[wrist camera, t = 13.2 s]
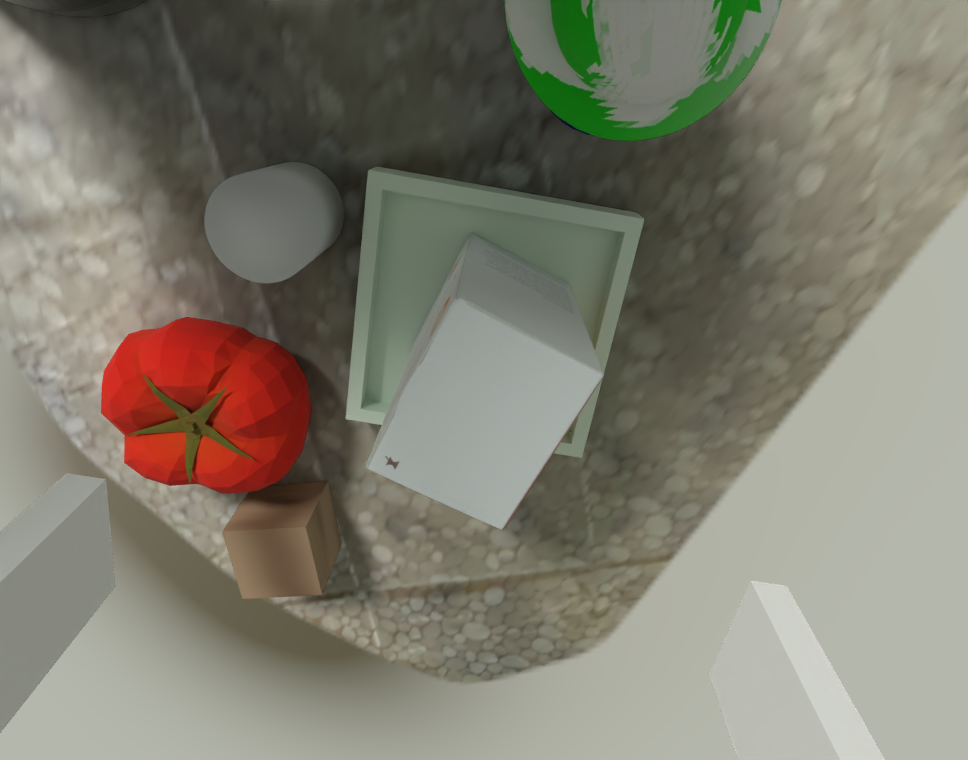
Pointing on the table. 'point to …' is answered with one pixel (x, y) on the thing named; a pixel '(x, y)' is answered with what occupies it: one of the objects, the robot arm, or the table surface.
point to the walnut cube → (283, 540)
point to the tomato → (207, 405)
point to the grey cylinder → (273, 220)
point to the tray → (437, 244)
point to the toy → (636, 59)
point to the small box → (488, 386)
